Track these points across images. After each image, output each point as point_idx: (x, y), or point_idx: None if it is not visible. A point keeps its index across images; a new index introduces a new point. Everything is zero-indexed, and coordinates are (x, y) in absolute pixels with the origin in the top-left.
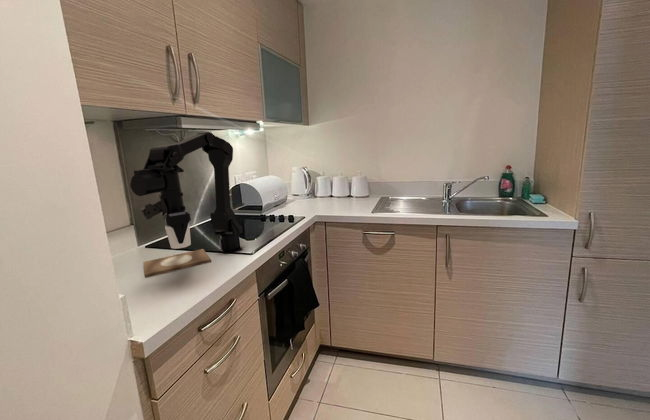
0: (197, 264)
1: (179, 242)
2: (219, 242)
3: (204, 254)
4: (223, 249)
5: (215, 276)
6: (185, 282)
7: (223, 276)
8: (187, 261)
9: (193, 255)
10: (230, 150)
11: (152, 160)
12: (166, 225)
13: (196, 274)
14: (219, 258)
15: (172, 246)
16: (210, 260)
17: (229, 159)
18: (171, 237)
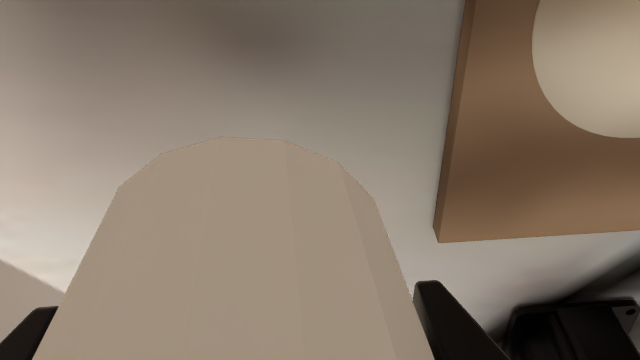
0: (445, 147)
1: (25, 328)
2: (631, 351)
3: (596, 218)
4: (558, 323)
5: (101, 220)
6: (81, 26)
7: (74, 256)
8: (543, 96)
9: None
10: None
11: None
12: None
13: (227, 118)
14: (458, 272)
15: (139, 183)
16: (436, 232)
17: None
18: (57, 335)
